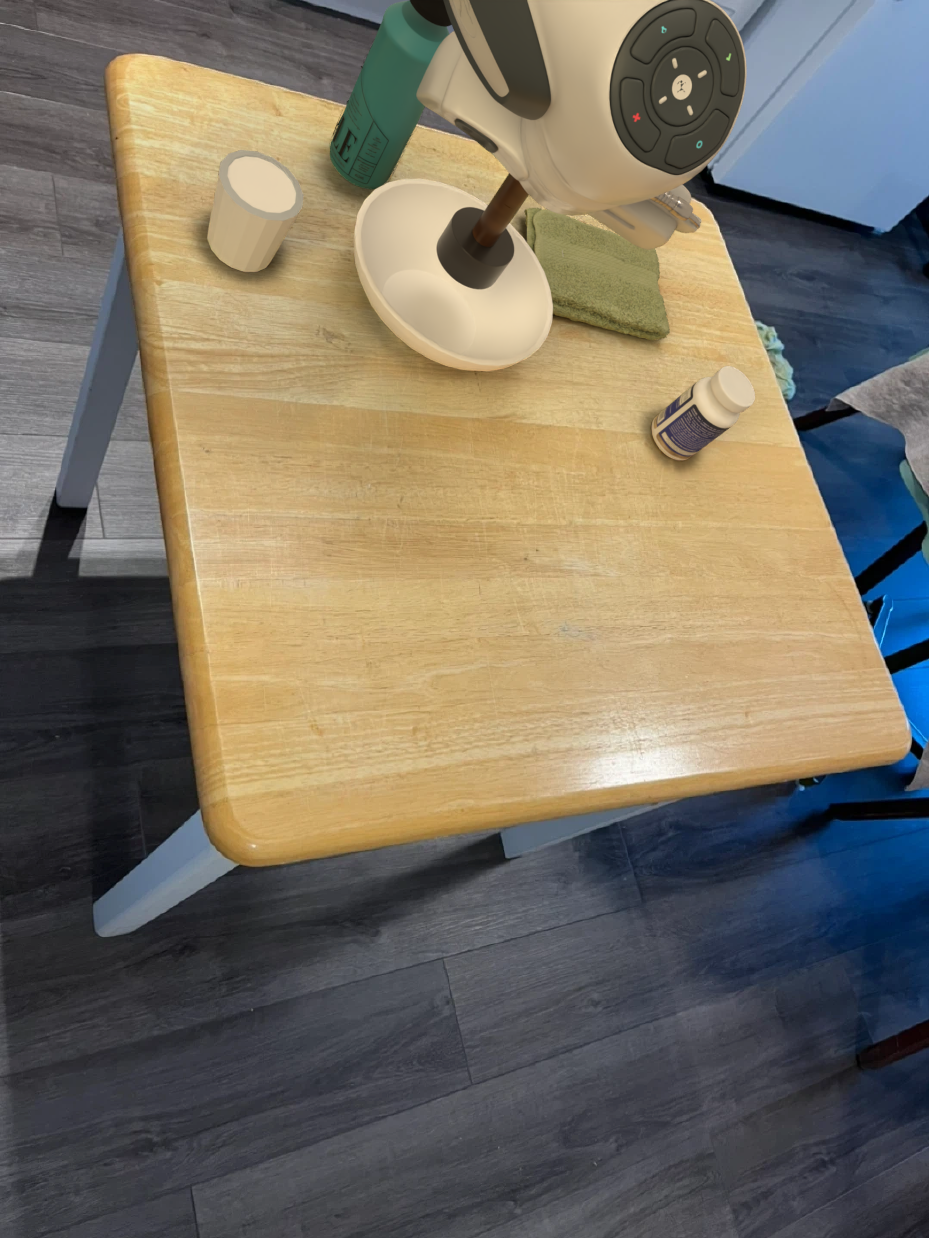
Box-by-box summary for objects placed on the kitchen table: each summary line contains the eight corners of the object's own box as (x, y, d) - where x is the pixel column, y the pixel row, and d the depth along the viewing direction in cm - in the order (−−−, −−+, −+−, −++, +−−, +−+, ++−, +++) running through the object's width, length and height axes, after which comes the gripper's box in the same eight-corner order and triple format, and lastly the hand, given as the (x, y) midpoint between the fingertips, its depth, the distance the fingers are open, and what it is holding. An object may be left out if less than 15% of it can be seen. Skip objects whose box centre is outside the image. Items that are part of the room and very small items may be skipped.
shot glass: (294, 255, 78) (320, 197, 72) (246, 291, 74) (270, 233, 68) (234, 199, 77) (255, 136, 71) (182, 233, 73) (200, 169, 67)
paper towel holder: (423, 240, 75) (533, 55, 60) (470, 225, 78) (586, 47, 63) (464, 297, 74) (585, 126, 60) (509, 280, 78) (634, 114, 63)
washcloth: (514, 212, 94) (530, 190, 92) (645, 261, 102) (663, 242, 100) (525, 310, 90) (542, 290, 87) (661, 354, 98) (680, 336, 95)
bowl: (290, 319, 75) (316, 265, 70) (378, 197, 85) (407, 141, 80) (477, 447, 80) (515, 406, 75) (539, 317, 90) (577, 272, 85)
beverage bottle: (397, 193, 87) (496, 8, 70) (351, 211, 83) (444, 21, 67) (354, 141, 87) (444, -57, 70) (306, 157, 83) (389, -48, 66)
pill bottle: (698, 462, 94) (767, 412, 86) (658, 462, 91) (726, 410, 83) (681, 416, 96) (748, 362, 87) (642, 414, 93) (707, 358, 84)
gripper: (736, 181, 58) (658, 199, 71) (469, -14, 51) (436, 45, 64) (684, 271, 59) (617, 272, 72) (418, 93, 53) (396, 129, 66)
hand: (530, 164), depth 68 cm, fingers closed on paper towel holder, 2 cm apart
